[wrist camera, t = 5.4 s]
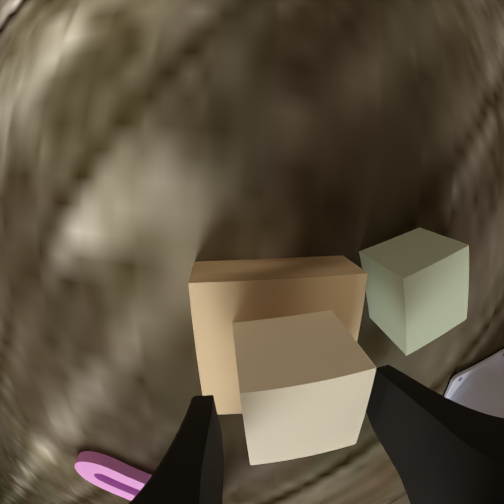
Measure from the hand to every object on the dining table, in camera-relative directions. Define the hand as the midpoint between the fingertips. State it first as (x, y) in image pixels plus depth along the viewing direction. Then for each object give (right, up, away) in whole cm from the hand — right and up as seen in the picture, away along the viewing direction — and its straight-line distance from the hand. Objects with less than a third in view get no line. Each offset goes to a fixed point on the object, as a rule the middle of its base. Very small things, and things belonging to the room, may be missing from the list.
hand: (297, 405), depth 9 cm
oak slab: (-1, +2, +6) cm, 6 cm away
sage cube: (+6, +4, +6) cm, 9 cm away
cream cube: (0, +1, +3) cm, 3 cm away
